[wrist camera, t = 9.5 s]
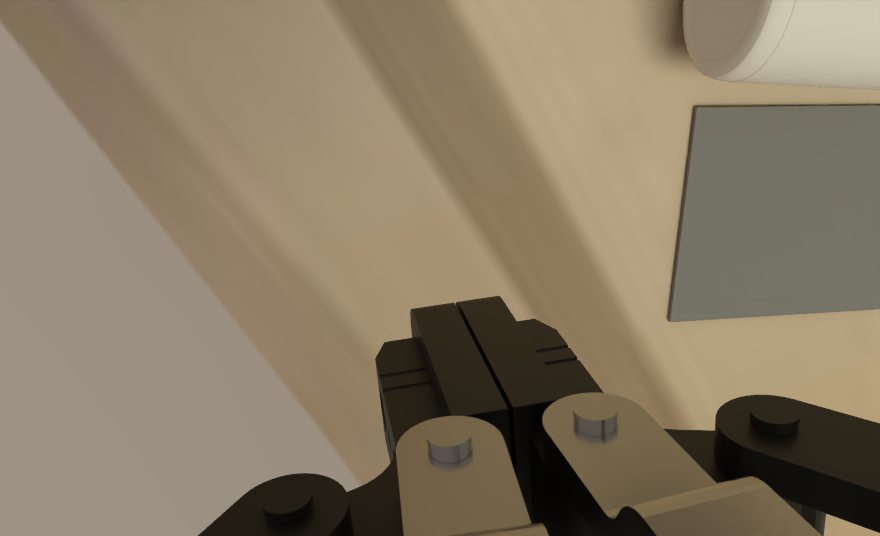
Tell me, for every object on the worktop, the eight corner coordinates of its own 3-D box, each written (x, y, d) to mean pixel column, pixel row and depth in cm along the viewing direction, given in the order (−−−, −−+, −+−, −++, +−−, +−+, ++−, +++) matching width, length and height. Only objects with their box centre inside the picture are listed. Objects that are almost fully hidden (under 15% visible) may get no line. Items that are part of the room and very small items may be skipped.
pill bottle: (661, 11, 41) (914, 31, 44) (711, 117, 36) (991, 132, 39) (730, -146, 35) (1019, -110, 38) (801, -44, 30) (1125, -11, 33)
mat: (667, 319, 45) (670, 322, 45) (694, 106, 41) (697, 107, 41) (943, 303, 49) (947, 304, 48) (992, 103, 45) (997, 104, 44)
